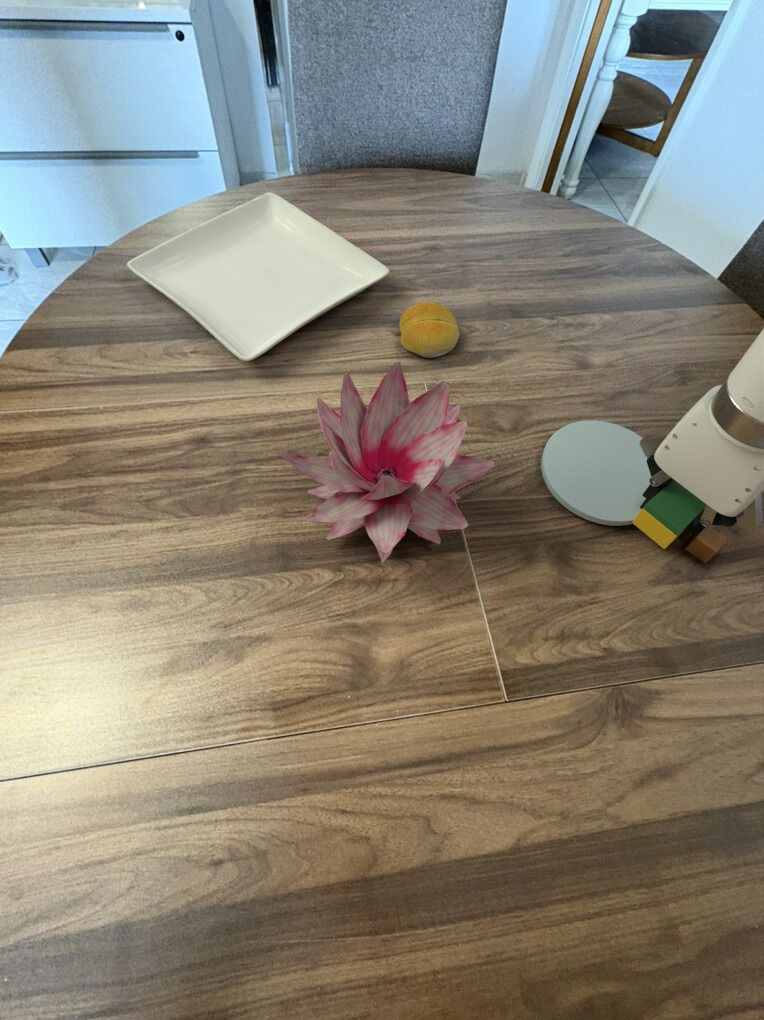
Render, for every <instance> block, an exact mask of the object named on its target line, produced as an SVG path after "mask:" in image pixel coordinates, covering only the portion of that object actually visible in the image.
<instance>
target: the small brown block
mask: <svg viewBox="0 0 764 1020" xmlns="http://www.w3.org/2000/svg"><path fill="white" fill-rule="evenodd" d="M727 540H728V537H727V536H725V535H724V534H722V533H721V532H720V531H718V530H716V529H715V528H713V527H712V526H710V527H706V528H705V529H704V530H703V531H702V532H701V533H700V534H699V535H698V536H697V537H696V538H695V537H694V536H693V538H692V539H691V540H690V542H689V543H688V544H687V546H686V547H685V549H684V550H685V551H687V553H690V554H691V555H692V556H694V557H695V558H697V559H698V560H700V561H701V562H702V563H704V564H707V563H708V562H709V561H710V560H711V559H712V558H713V557H714V556H715V555H716V554H718V552H719V551H720V550H721V549H722V547H723V545H724V544H725V542H726V541H727Z"/></svg>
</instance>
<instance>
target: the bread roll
mask: <svg viewBox="0 0 764 1020" xmlns="http://www.w3.org/2000/svg"><path fill="white" fill-rule="evenodd" d="M398 325H399V330H400V333H401V335H400V343H401V346H403V348H404V349H405V350H406V351H409V352H411V353H413V354H416V355H418V356H420V357H422V358H428V359H429V358H430V359H432V358H433V359H434V358H438V357H442V356H444V355H446V354H448V353H450V352H451V351H452V350H453V349H454V348H455V347H456V345H457V344H458V341H459V338H460V329H459V326H458V323H457V319H456V317H455V316H454V314H453V313H452V312H451V310H450V309H449V308H448V307H446V306H445V305H442V304H441V303H437V302H432V301H426V302H420V303H419V302H418V303H416V304H413V305H411V306H409V307H407V308H406V309H405V310H404V312H403V313H402V314H401V316H400V319H399V323H398Z"/></svg>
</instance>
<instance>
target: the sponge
mask: <svg viewBox="0 0 764 1020" xmlns="http://www.w3.org/2000/svg"><path fill="white" fill-rule="evenodd" d="M705 507H706V504H705V503H704V502H703V501H701V500H700V499H699V498H697V497H696V496H695V495H693V494H692V493H691V492H690V491H688V490H687V489H686V488H684V487H683V486H682V485H680V484H679V483H678V482H677V481H675V480H674V479H673V481H671V482H670V483H669V484H668V485H667V486H666V487H665V488H664V489H662V490H661V491H660V492H659V493H658V494H657V495H655V496H654V497H653V498H652V499H651V500H650V501H649V502H648V503H646V505H645V506H644V507H643V509H642V510H641V511H640V513H639V514H638V515H637V516H636V518H635V519H634V520H633V522H632V523H633V524H632V525H634V526H636V527H637V528H638V529H639V530H640V531H641V532H643V533H644V534H645V535H646V536H647V537H649V538H650V540H652V541H654V543H656V544H657V545H658V546H660V547H661V549H663V550H666V549H667V548H668V547H669V546H670V545H671V544H673V542H674V541H675V540H677V539H678V538H679V537H678V536H679V535H680V534H681V533H682V532H683V531H684V529H685V528H686V527H687V526H688V525H689V524H690V523H691V522H692V521H693V520H694V518H696V517H697V516H698V515H699V514H700V513H701V512H702V511H703V510H704V509H705Z"/></svg>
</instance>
